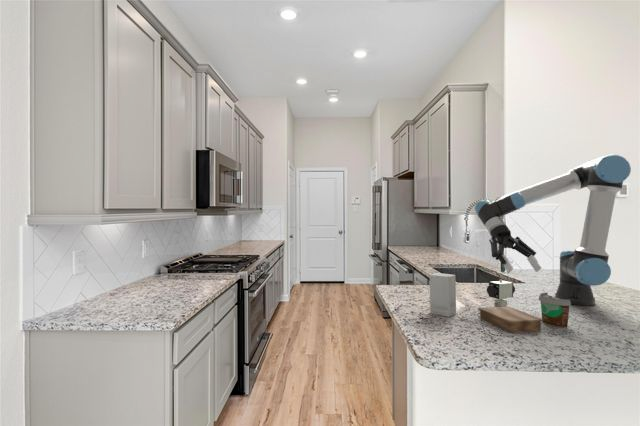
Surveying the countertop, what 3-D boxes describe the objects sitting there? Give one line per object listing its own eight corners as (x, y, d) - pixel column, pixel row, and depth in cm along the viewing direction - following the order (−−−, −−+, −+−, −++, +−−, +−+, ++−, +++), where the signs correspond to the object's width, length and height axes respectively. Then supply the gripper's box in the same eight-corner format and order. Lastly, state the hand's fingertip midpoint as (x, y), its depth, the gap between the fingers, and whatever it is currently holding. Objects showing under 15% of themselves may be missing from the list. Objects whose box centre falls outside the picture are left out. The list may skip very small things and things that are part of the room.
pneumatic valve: (515, 308, 154) (515, 279, 154) (495, 310, 149) (495, 281, 149) (503, 304, 159) (504, 277, 159) (484, 307, 154) (484, 279, 154)
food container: (530, 318, 139) (531, 292, 139) (545, 318, 140) (546, 292, 140) (554, 329, 127) (554, 300, 127) (570, 328, 128) (571, 300, 127)
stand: (508, 316, 141) (508, 306, 141) (543, 331, 124) (543, 319, 124) (478, 318, 139) (478, 307, 139) (509, 333, 122) (509, 321, 122)
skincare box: (456, 314, 144) (457, 274, 144) (449, 317, 139) (449, 276, 139) (436, 310, 149) (436, 272, 149) (428, 313, 144) (429, 274, 144)
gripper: (516, 235, 164) (544, 275, 150) (469, 235, 157) (493, 276, 143) (526, 224, 159) (556, 264, 145) (478, 223, 152) (504, 265, 138)
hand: (524, 270), depth 144 cm, fingers open, 13 cm apart
